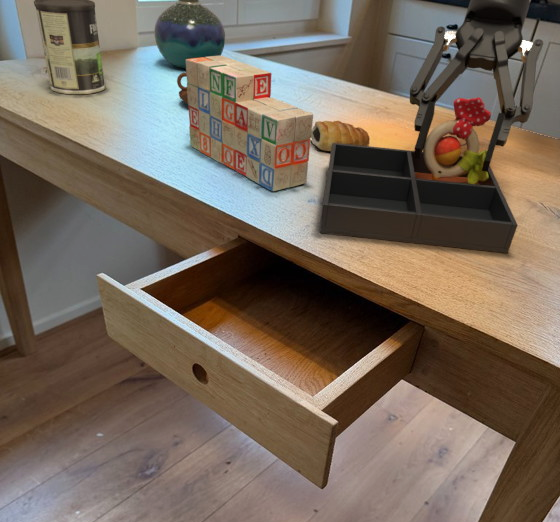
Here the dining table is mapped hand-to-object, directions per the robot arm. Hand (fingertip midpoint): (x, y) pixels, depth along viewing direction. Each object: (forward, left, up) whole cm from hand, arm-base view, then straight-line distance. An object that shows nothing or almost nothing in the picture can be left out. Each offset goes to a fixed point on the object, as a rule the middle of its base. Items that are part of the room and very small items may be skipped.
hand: (451, 159), depth 73 cm
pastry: (+15, -19, -6) cm, 25 cm away
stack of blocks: (+28, -7, -6) cm, 29 cm away
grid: (+5, +2, -6) cm, 8 cm away
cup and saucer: (+39, -35, -6) cm, 53 cm away
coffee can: (+66, -38, -6) cm, 76 cm away
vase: (+50, -64, -6) cm, 81 cm away
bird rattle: (-1, -3, -4) cm, 5 cm away
